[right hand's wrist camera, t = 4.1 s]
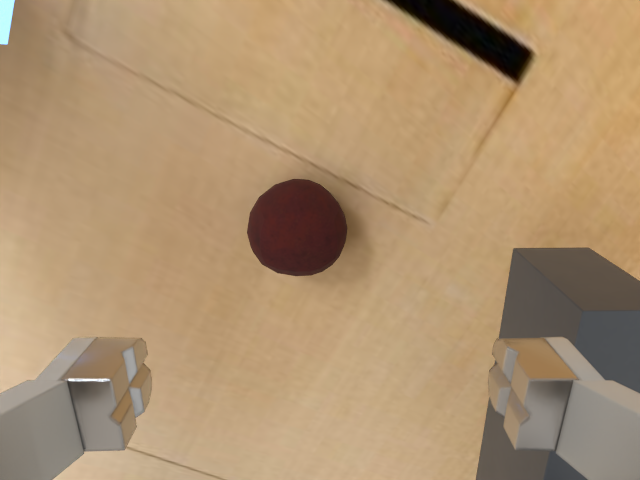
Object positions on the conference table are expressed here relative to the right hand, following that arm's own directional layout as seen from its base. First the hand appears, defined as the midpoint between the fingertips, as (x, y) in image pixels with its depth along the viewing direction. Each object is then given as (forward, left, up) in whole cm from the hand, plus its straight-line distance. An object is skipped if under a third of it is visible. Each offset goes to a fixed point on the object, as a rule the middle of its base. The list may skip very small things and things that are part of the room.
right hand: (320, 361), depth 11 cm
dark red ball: (+5, -2, -28) cm, 28 cm away
